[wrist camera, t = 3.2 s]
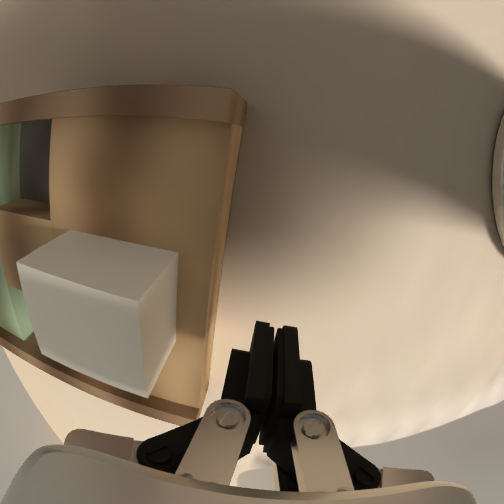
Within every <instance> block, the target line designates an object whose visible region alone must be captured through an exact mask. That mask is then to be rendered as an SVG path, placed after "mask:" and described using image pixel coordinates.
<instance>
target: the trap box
mask: <svg viewBox="0 0 504 504" xmlns="http://www.w3.org/2000/svg"><path fill="white" fill-rule="evenodd" d="M246 106H247V102H246V101H245V100H244V99H243V98H242V97H241V96H240V95H238V94H237V93H236V92H235V91H234V90H233V89H230V88H220V87H207V86H191V85H121V86H105V87H93V88H83V89H75V90H67V91H60V92H54V93H48V94H42V95H37V96H31V97H27V98H22V99H18V100H13V101H9V102H5V103H1V104H0V345H2V346H3V347H5V348H6V349H8V350H9V351H11V352H12V353H14V354H15V355H17V356H19V357H20V358H22V359H24V360H25V361H27V362H29V363H30V364H32V365H34V366H35V367H37V368H39V369H41V370H43V371H44V372H46V373H48V374H50V375H52V376H54V377H56V378H58V379H60V380H62V381H63V382H66V383H68V384H70V385H72V386H74V387H76V388H78V389H80V390H82V391H85V392H87V393H89V394H91V395H94V396H96V397H98V398H101V399H103V400H105V401H108V402H110V403H113V404H115V405H118V406H121V407H123V408H126V409H129V410H132V411H134V412H137V413H140V414H143V415H146V416H149V417H152V418H155V419H159V420H162V421H165V422H169V423H172V424H176V425H179V426H183V425H185V424H187V423H190V422H192V421H194V420H197V419H199V416H200V413H201V410H202V406H203V403H204V399H205V396H206V393H207V389H208V384H209V375H210V365H211V356H212V346H213V337H214V329H215V320H216V312H217V303H218V295H219V287H220V279H221V272H222V264H223V256H224V249H225V242H226V234H227V227H228V220H229V213H230V206H231V199H232V193H233V186H234V179H235V173H236V166H237V160H238V154H239V148H240V141H241V135H242V129H243V123H244V117H245V111H246ZM69 230H75V231H79V232H84V233H88V234H93V235H98V236H102V237H107V238H112V239H116V240H121V241H126V242H131V243H135V244H140V245H145V246H150V247H155V248H160V249H164V250H169V251H174V252H179V259H178V278H177V304H176V342H175V344H174V346H173V348H172V350H171V352H170V354H169V356H168V358H167V360H166V362H165V364H164V366H163V368H162V370H161V372H160V375H159V377H158V379H157V381H156V383H155V385H154V387H153V389H152V391H151V393H150V395H149V397H148V398H145V397H142V396H139V395H136V394H133V393H130V392H128V391H125V390H122V389H119V388H117V387H114V386H111V385H109V384H106V383H104V382H101V381H99V380H96V379H94V378H92V377H89V376H87V375H85V374H82V373H80V372H78V371H76V370H73V369H71V368H69V367H67V366H65V365H63V364H61V363H59V362H57V361H55V360H53V359H51V358H49V357H47V356H45V355H43V354H41V351H40V348H39V345H38V342H37V340H36V337H35V334H34V330H33V327H32V324H31V321H30V318H29V314H28V311H27V307H26V303H25V300H24V296H23V292H22V287H21V283H20V279H19V274H18V269H17V264H16V262H17V261H18V260H20V259H22V258H23V257H25V256H26V255H28V254H30V253H31V252H33V251H34V250H36V249H38V248H39V247H41V246H43V245H45V244H46V243H48V242H50V241H51V240H53V239H55V238H57V237H58V236H60V235H62V234H64V233H65V232H67V231H69Z"/></svg>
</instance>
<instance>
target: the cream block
mask: <svg viewBox="0 0 504 504" xmlns="http://www.w3.org/2000/svg"><path fill="white" fill-rule="evenodd" d="M178 259H179V252H174V251H169V250H164V249H160V248H155V247H150V246H145V245H140V244H135V243H131V242H126V241H121V240H116V239H112V238H107V237H102V236H98V235H93V234H88V233H84V232H79V231H75V230H69V231H67V232H65V233H64V234H62V235H60V236H58V237H57V238H55V239H53V240H51V241H50V242H48V243H46V244H45V245H43V246H41V247H39V248H38V249H36V250H34V251H33V252H31V253H30V254H28V255H26V256H25V257H23V258H22V259H20V260H18V261H17V262H16V264H17V269H18V274H19V279H20V283H21V287H22V292H23V296H24V300H25V303H26V307H27V311H28V314H29V318H30V321H31V324H32V327H33V330H34V334H35V337H36V340H37V342H38V345H39V348H40V351H41V354H43V355H45V356H47V357H49V358H51V359H53V360H55V361H57V362H59V363H61V364H63V365H65V366H67V367H69V368H71V369H73V370H76V371H78V372H80V373H82V374H85V375H87V376H89V377H92V378H94V379H96V380H99V381H101V382H104V383H106V384H109V385H111V386H114V387H117V388H119V389H122V390H125V391H128V392H130V393H133V394H136V395H139V396H142V397H145V398H148V397H149V395H150V393H151V391H152V389H153V387H154V385H155V383H156V381H157V379H158V377H159V375H160V372H161V370H162V368H163V366H164V364H165V362H166V360H167V358H168V356H169V354H170V352H171V350H172V348H173V346H174V344H175V342H176V304H177V278H178Z"/></svg>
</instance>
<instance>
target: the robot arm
mask: <svg viewBox="0 0 504 504" xmlns="http://www.w3.org/2000/svg"><path fill="white" fill-rule="evenodd" d="M492 173H493V188H492V193H493V204H494V214H495V219H496V224H497V230H498V233H499V236H500V239H501V242H502V245H503V246H504V115H503V117H502V120H501V124H500V127H499V130H498V134H497V139H496V145H495V150H494V161H493V172H492ZM269 326H270V323H266V322H260V321H256V324H255V328H254V333H253V338H252V342H251V347H250V351H249V352H248V351H242V350H237V349H232V351H231V355H230V360H229V365H228V369H227V374H226V378H225V383H224V388H223V392H222V397H221V399H220V400H217V401H214V402H213V403H211V404H210V405H209V407H208V408H207V410H206V412H205V414H204V416H203V417H201V418H199V419H197V420H194V421H192V422H190V423H187V424H185V425H183V426H180V427H178V428H175V429H173V430H170V431H168V432H165V433H163V434H160V435H158V436H155V437H152V438H150V439H147V440H145V441H136V440H134V438H130V437H123V436H117V435H111V434H105V433H100V432H95V431H90V430H86V429H76V430H72V431H71V432H70V433H69V434H68V435H67V436H66V438H65V442H64V445H46V446H43V447H40V448H39V449H37V450H35V451H34V452H33V453H32V454H31V455H30V456H29V457H28V458H27V459H26V461H25V462H24V463H23V465H22V466H21V467H20V469H19V470H18V472H17V473H16V475H15V477H14V478H13V480H12V482H11V484H10V486H9V488H8V489H7V491H6V494H5V495H4V498H3V500H2V502H1V504H477V502H476V500H475V498H474V496H473V494H472V493H471V491H470V490H469V489H468V488H467V487H465V486H463V485H460V484H457V483H452V482H446V481H434V477H433V476H432V474H430V473H429V472H428V471H424V470H412V469H411V470H410V469H398V468H388V467H383V468H382V469H378V468H377V467H376V466H375V465H374V464H372V463H371V462H369V461H368V460H367V459H365V458H364V457H362V456H361V455H360V454H358V453H357V452H355V451H354V450H353V449H351V448H350V447H349V446H347V445H346V444H345V443H343V442H342V441H341V440H340V439H339V438H338V434H337V431H336V428H335V425H334V423H333V421H332V419H331V418H330V417H329V416H328V415H326V414H325V413H323V412H320V411H317V410H316V401H315V391H314V381H313V372H312V364H311V361H308V360H300V356H299V342H298V330H297V327H291V326H283V328H282V329H281V328H278V329H277V333H276V336H275V340H274V327H269ZM259 432H260V435H259ZM258 435H259V445H264V447H263V452H266V453H267V456H268V457H269V458H270V459H271V460H272V461H273V464H272V467H273V475H274V482H275V490H276V491H270V490H259V489H249V488H241V487H234V486H229V484H230V481H231V479H232V476H233V473H234V470H235V467H236V464H237V461H238V460H239V459H240V458H242V457H244V456H246V455H247V454H249V453H250V451H251V448H252V445H253V444H255V442H256V440H257V437H258Z"/></svg>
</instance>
